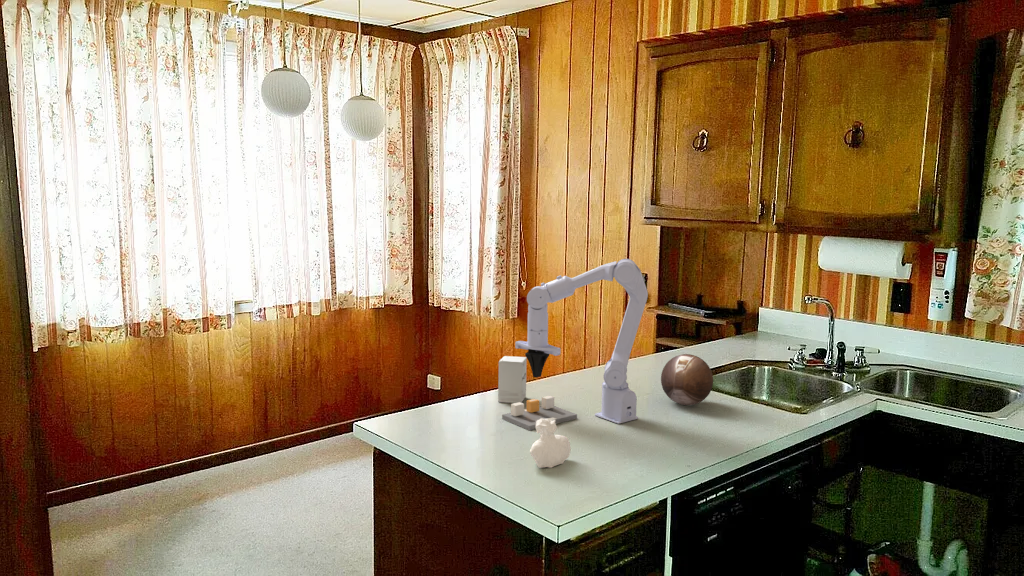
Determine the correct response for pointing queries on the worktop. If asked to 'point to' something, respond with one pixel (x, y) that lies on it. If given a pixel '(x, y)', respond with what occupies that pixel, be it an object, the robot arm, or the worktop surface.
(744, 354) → the worktop surface
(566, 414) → the breaker panel
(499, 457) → the worktop surface
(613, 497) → the worktop surface
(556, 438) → the bust
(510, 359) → the supplement box
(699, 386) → the brown metallic sphere
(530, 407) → the breaker
